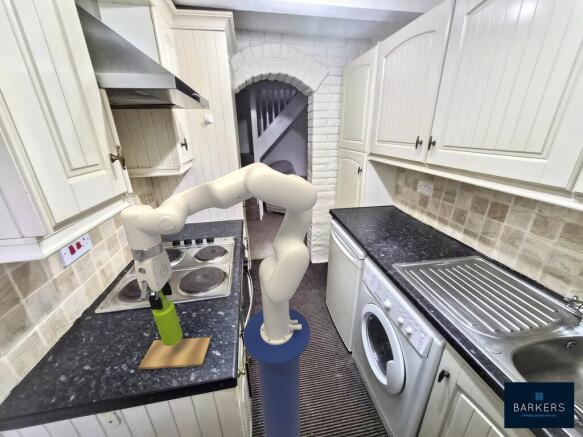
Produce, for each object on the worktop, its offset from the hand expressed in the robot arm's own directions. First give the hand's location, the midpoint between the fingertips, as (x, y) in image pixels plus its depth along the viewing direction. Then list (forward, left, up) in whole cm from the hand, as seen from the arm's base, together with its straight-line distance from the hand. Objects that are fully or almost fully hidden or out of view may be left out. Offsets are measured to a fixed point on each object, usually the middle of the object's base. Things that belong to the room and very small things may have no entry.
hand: (162, 301), depth 70 cm
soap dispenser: (0, 0, -15) cm, 15 cm away
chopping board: (0, 0, -22) cm, 22 cm away
